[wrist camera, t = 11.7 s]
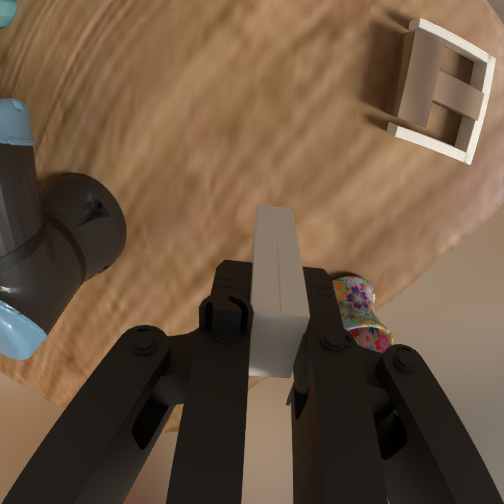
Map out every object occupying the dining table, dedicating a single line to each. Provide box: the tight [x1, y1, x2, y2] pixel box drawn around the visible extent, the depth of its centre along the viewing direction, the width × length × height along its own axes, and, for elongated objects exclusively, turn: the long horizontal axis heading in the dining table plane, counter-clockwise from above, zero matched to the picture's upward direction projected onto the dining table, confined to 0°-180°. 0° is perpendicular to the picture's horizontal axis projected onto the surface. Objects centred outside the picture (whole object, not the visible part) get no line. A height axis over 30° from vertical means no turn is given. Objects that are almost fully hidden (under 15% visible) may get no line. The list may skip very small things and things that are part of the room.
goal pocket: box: [387, 18, 496, 165], centre depth 26 cm, size 11×14×3 cm
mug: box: [332, 276, 394, 353], centre depth 40 cm, size 12×9×11 cm
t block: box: [385, 30, 484, 128], centre depth 26 cm, size 10×10×4 cm
